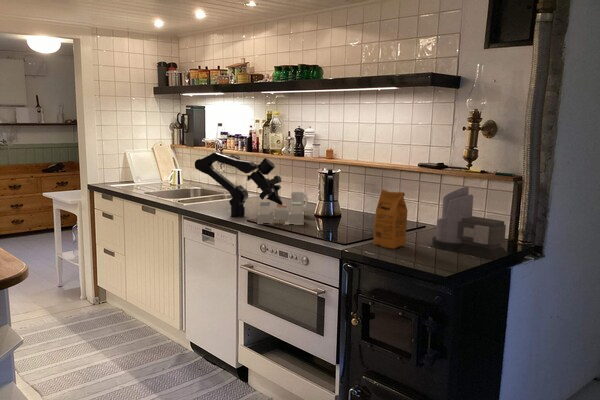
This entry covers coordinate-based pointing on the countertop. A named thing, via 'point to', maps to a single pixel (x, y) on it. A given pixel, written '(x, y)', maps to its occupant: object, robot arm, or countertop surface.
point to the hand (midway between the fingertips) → (281, 204)
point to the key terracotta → (282, 207)
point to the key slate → (265, 208)
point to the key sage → (296, 207)
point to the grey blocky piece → (468, 228)
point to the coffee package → (390, 220)
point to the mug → (299, 199)
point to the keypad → (281, 217)
